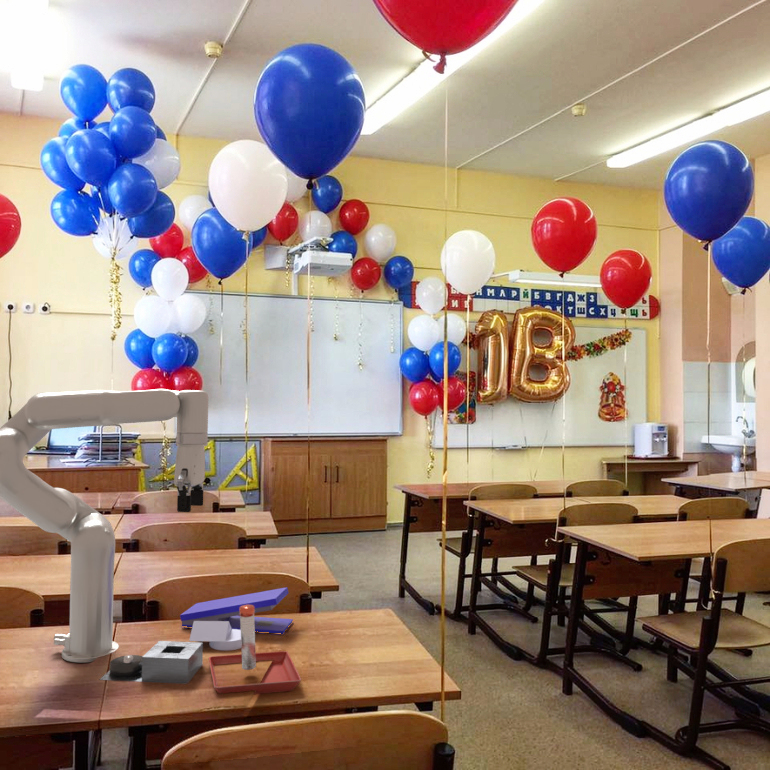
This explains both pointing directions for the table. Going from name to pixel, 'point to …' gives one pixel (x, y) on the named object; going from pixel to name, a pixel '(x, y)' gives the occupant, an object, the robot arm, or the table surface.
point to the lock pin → (247, 637)
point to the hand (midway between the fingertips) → (190, 508)
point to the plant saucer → (275, 679)
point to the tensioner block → (159, 664)
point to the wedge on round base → (216, 634)
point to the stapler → (230, 609)
